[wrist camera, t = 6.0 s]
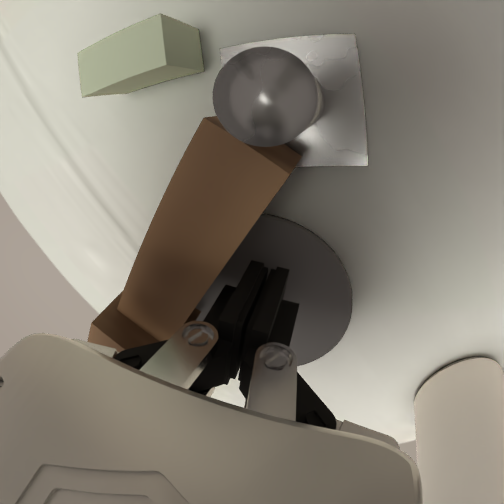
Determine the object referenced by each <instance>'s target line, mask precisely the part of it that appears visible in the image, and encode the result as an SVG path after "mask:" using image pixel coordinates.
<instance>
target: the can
mask: <svg viewBox="0 0 504 504" xmlns="http://www.w3.org/2000/svg"><path fill="white" fill-rule="evenodd" d="M414 412H415V427H416V447H417V467H418V469H419V472H420V476H421V482H422V494H423V504H504V373H503V371H502V368H501V366H500V365H499V364H498V363H497V362H496V361H494V360H492V359H488V358H485V357H470V358H465V359H462V360H459V361H456V362H454V363H451V364H449V365H447V366H445V367H444V368H442V369H440V370H439V371H437V372H436V373H435V374H433V375H432V376H431V377H430V378H429V379H428V380H427V381H426V382H425V383H424V384H423V386H422V387H421V388H420V390H419V391H418V393H417V395H416V397H415V400H414Z"/></svg>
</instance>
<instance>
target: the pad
mask: <svg viewBox="0 0 504 504" xmlns="http://www.w3.org/2000/svg"><path fill="white" fill-rule="evenodd" d="M251 260H253V261H257V262H261V263H264V267H267V268H268V273H267V278H268V275H269V273H270V271H271V269H275V270H276V268H277V266H278V267H282V268H286V269H290V271H289V276H288V280H287V284H286V289H285V293H284V297H283V300H287V301H291V302H295V303H299V308H298V313H297V317H296V321H295V325H294V330H293V334H292V338H291V342H290V346H289V347H290V348H291V349H292V350H293V351H294V353H295V354H296V357H297V366H300V365H304V364H307V363H309V362H312V361H314V360H316V359H318V358H320V357H322V356H323V355H325V354H326V353H328V352H329V351H330V350H331V349H332V348H334V347H335V346H336V345H337V344H338V342H339V341H340V340H341V338H342V337H343V335H344V333H345V332H346V330H347V328H348V325H349V322H350V318H351V312H352V291H351V286H350V281H349V278H348V275H347V273H346V270H345V268H344V266H343V265H342V263H341V261H340V259H339V258H338V257H337V255H336V254H335V253H334V251H333V250H332V249H331V248H330V247H329V246H328V245H327V244H326V243H325V242H324V241H323V240H322V239H320V238H319V237H318V236H317V235H315V234H314V233H313V232H311V231H309V230H308V229H306V228H304V227H303V226H301V225H299V224H296V223H294V222H292V221H289V220H286V219H283V218H280V217H276V216H271V215H265V214H261V215H260V217H259V218H258V220H257V221H256V222H255V224H254V225H253V227H252V228H251V229H250V231H249V232H248V234H247V235H246V236H245V238H244V239H243V241H242V242H241V243H240V245H239V246H238V248H237V249H236V250H235V252H234V253H233V255H232V256H231V258H230V259H229V260H228V262H227V263H226V265H225V266H224V267H223V269H222V270H221V272H220V273H219V275H218V276H217V277H216V279H215V280H214V282H213V283H212V284H211V286H210V287H209V289H208V290H207V292H206V293H205V294H204V296H203V297H202V299H201V300H200V302H199V303H198V304H197V306H196V307H195V308H196V309H198V310H199V311H201V313H200V315H199V316H198V318H197V319H196V321H203V320H204V319H205V317H206V315H207V314H208V312H209V310H210V309H211V307H212V306H213V304H214V302H215V301H216V299H217V297H218V296H219V294H220V293H221V291H222V289H223V288H224V286H225V285H230V286H233V287H237V285H238V283H239V282H240V280H241V278H242V276H243V274H244V273H245V271H246V269H247V267H248V265H249V264H250V262H251ZM266 280H267V279H266Z"/></svg>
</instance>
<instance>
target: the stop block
mask: <svg viewBox="0 0 504 504" xmlns="http://www.w3.org/2000/svg"><path fill="white" fill-rule="evenodd" d="M77 54H78V66H79V76H80V85H81V93H82V97H91V96H101V95H113V94H127V93H130V92H133V91H136V90H139V89H142V88H145V87H148V86H152V85H155V84H158V83H161V82H165V81H168V80H172V79H176V78H179V77H183V76H187V75H191V74H195V73H199V72H203V71H204V66H203V59H202V51H201V44H200V36H199V29H197V28H195V27H192V26H190V25H188V24H185V23H183V22H181V21H178V20H176V19H173V18H171V17H168V16H166V15H163V14H158V15H156V16H153V17H150V18H148V19H145V20H143V21H141V22H138V23H136V24H134V25H131V26H129V27H127V28H125V29H123V30H120V31H118V32H116V33H114V34H112V35H110V36H108V37H106V38H104V39H102V40H100V41H98V42H96V43H95V44H93V45H91V46H89V47H87V48H86V49H84V50H82V51H80V52H79V53H77Z"/></svg>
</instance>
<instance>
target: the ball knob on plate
mask: <svg viewBox="0 0 504 504" xmlns="http://www.w3.org/2000/svg"><path fill="white" fill-rule="evenodd" d="M220 54H221V61H222V69H221V70H220V72H219V74H218V76H217V78H216V81H215V84H214V89H213V104H214V109H215V112H216V115H217V117H218V119H219V121H220V123H221V124H222V126H223V127H224V128H225V129H226V130H227V131H228V132H229V133H230V134H231V135H232V136H234V137H235V138H236V139H238V140H240V141H242V142H244V143H247V144H249V145H253V146H260V147H272V146H278V145H281V144H285V145H286V146H288V147H289V148H291V149H292V150H293V151H295V152H296V153H298V154H299V155H300V156H302V157H301V159H300V160H299V162H298V163H297V165H296V166H295V167H311V166H368V153H367V134H366V119H365V107H364V96H363V87H362V78H361V70H360V63H359V56H358V49H357V43H356V37H355V34H325V35H309V36H297V37H287V38H279V39H271V40H264V41H257V42H251V43H245V44H240V45H235V46H230V47H225V48H220Z"/></svg>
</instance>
